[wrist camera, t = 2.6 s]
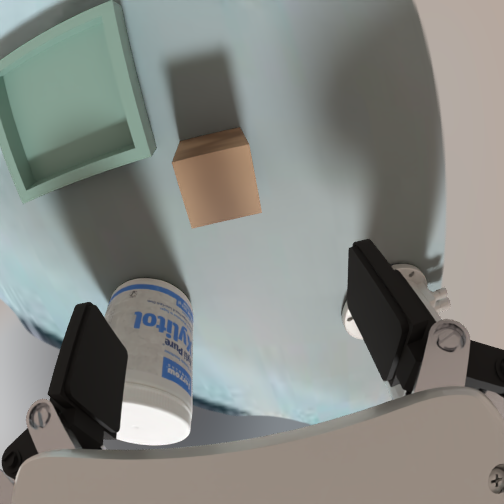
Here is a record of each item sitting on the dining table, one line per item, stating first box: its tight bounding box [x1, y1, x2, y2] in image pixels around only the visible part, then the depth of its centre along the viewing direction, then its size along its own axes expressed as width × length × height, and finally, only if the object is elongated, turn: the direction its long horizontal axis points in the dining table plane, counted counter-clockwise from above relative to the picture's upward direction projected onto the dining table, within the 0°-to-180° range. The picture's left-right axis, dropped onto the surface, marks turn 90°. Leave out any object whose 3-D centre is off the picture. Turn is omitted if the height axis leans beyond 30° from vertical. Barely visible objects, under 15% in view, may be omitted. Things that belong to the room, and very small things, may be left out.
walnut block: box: [172, 127, 262, 228], centre depth 22 cm, size 5×5×6 cm
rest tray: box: [0, 0, 157, 204], centre depth 18 cm, size 13×13×3 cm
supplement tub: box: [104, 278, 193, 445], centre depth 27 cm, size 10×10×15 cm
